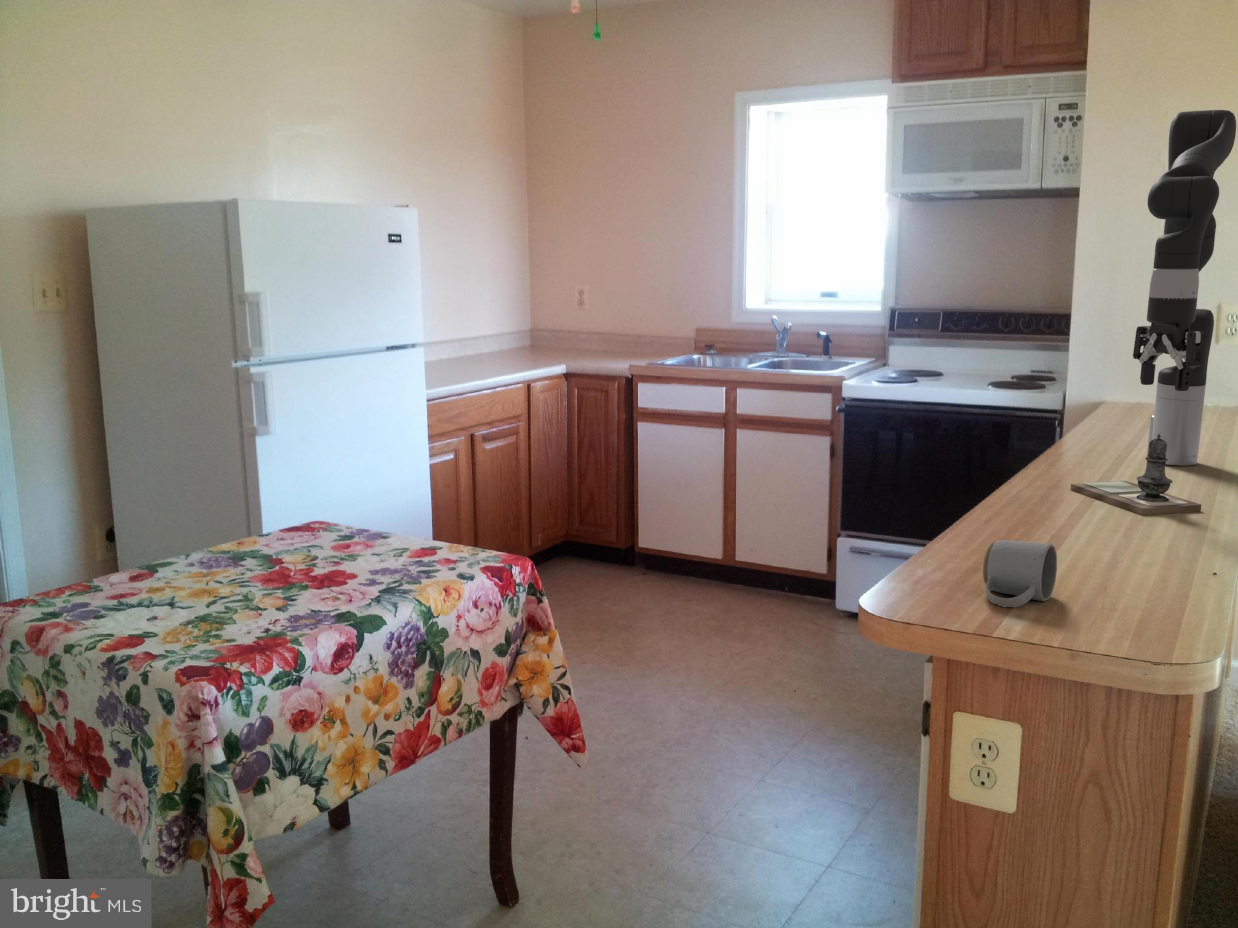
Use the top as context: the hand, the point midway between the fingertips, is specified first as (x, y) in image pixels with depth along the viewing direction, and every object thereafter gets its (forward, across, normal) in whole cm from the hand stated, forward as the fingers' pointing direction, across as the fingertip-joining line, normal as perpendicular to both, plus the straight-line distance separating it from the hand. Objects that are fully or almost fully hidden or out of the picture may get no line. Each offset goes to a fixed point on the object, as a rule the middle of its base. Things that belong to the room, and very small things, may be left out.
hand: (1163, 387), depth 182 cm
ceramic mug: (+22, -39, +52) cm, 69 cm away
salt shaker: (+21, 0, 0) cm, 21 cm away
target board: (+22, +5, 0) cm, 22 cm away
